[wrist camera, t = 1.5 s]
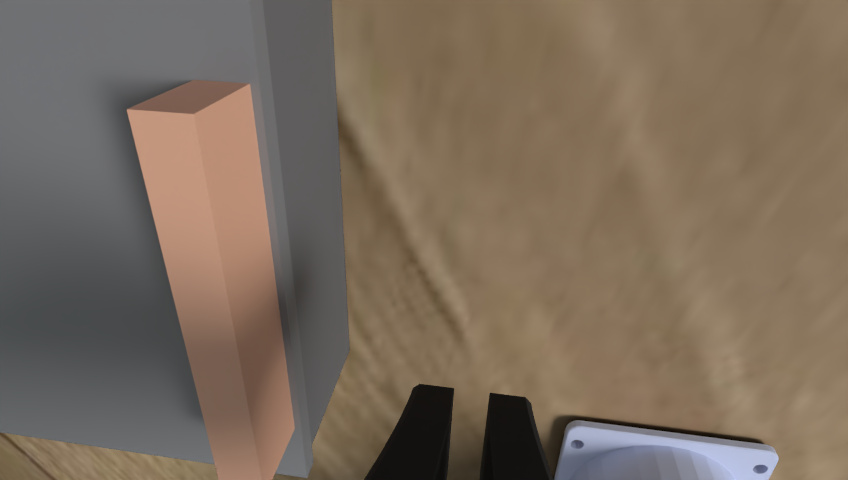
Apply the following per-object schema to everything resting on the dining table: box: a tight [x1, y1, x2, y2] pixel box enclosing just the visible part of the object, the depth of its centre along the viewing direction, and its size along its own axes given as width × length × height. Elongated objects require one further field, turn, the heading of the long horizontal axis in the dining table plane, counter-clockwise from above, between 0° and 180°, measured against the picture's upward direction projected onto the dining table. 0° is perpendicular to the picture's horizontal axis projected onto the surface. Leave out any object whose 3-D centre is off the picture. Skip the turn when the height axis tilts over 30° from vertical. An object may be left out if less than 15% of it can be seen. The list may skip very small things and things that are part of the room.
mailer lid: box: [0, 0, 313, 480], centre depth 13 cm, size 14×12×3 cm
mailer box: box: [263, 0, 350, 444], centre depth 17 cm, size 14×12×5 cm
